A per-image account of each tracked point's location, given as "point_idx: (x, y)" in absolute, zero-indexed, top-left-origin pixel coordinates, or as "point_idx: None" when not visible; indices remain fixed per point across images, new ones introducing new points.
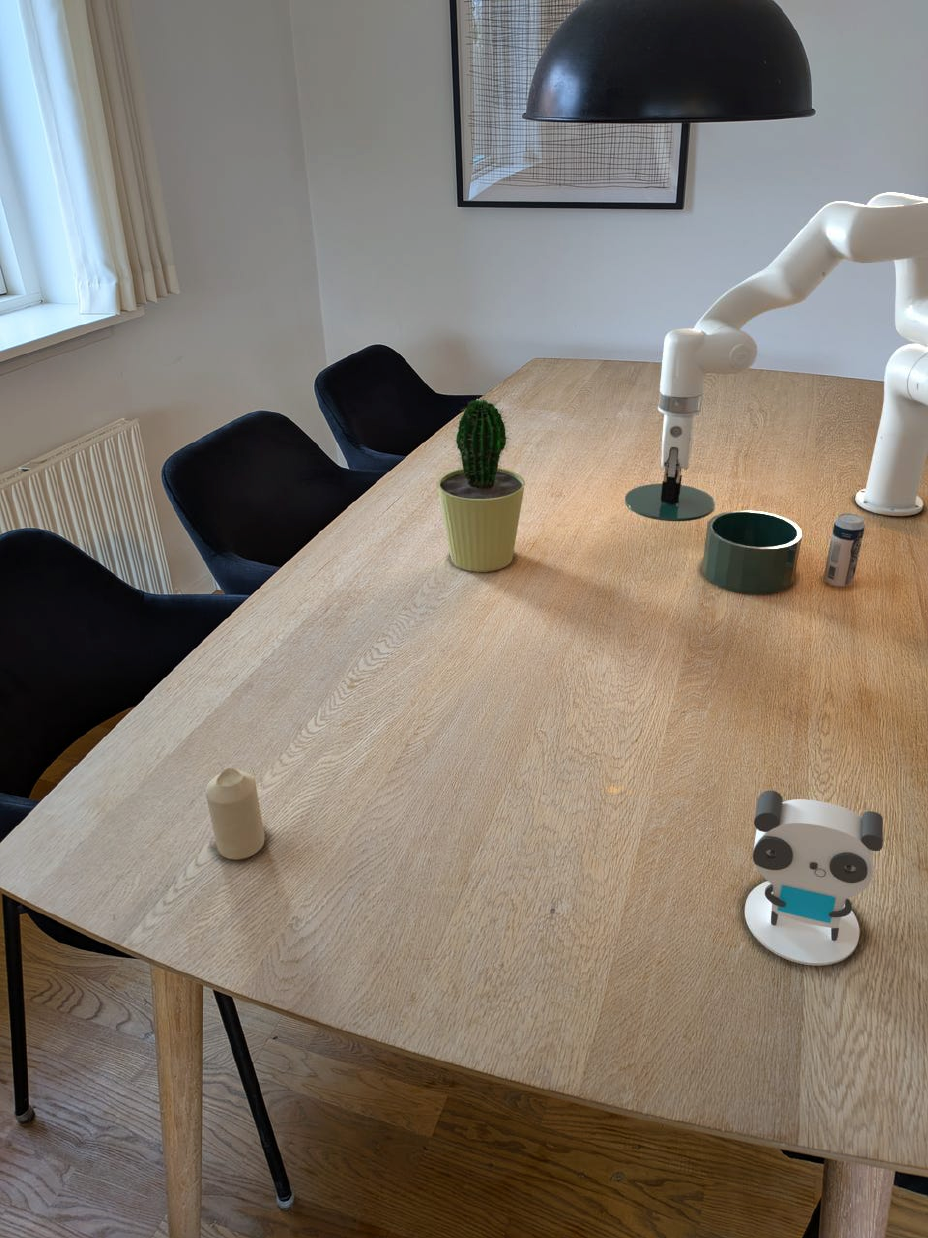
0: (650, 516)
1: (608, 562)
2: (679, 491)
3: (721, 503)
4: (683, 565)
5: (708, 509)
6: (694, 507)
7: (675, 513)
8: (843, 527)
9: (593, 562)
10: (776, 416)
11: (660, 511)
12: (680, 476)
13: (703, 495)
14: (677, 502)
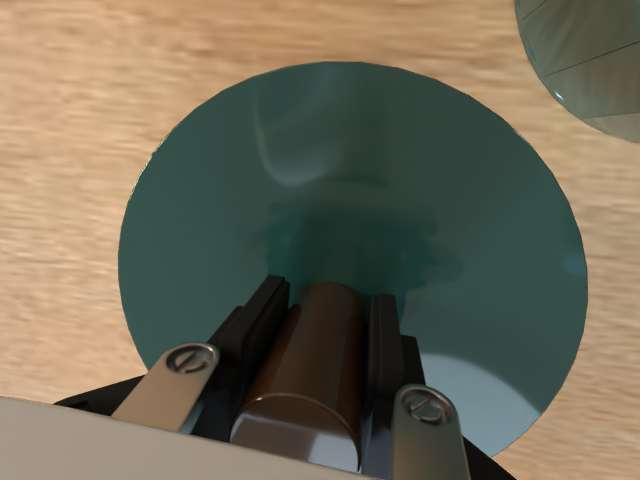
0: (529, 419)
1: (566, 435)
2: (383, 323)
3: (45, 34)
4: (615, 215)
5: (447, 112)
6: (420, 198)
7: (512, 309)
8: None
9: (562, 471)
10: None
11: (481, 376)
12: (243, 343)
13: (233, 132)
14: (394, 296)
